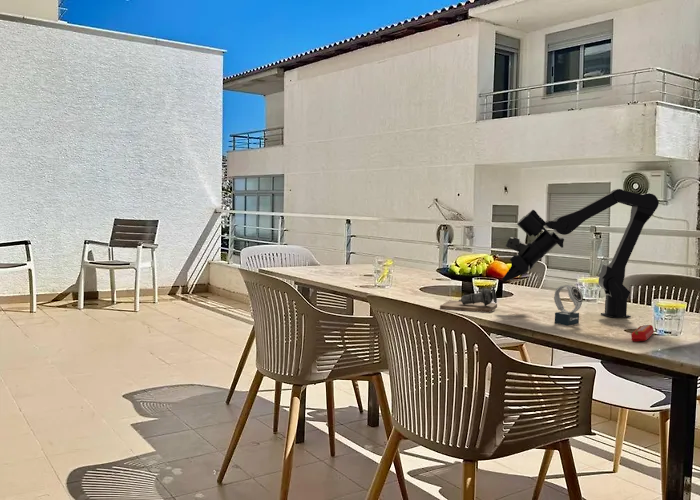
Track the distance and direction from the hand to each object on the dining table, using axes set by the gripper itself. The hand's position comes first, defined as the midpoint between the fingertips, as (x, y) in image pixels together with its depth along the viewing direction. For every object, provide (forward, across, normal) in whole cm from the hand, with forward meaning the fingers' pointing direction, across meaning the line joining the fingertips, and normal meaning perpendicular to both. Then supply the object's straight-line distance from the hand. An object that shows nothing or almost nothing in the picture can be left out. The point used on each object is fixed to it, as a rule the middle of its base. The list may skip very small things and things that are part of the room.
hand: (503, 280), depth 213 cm
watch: (-8, +17, +22) cm, 28 cm away
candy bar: (-21, +30, +36) cm, 51 cm away
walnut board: (+14, 0, -1) cm, 14 cm away
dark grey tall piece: (+5, 0, +2) cm, 5 cm away
